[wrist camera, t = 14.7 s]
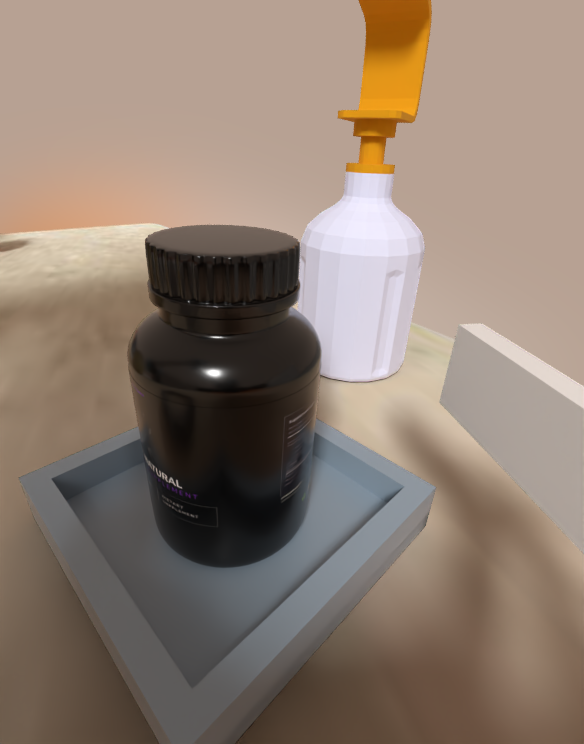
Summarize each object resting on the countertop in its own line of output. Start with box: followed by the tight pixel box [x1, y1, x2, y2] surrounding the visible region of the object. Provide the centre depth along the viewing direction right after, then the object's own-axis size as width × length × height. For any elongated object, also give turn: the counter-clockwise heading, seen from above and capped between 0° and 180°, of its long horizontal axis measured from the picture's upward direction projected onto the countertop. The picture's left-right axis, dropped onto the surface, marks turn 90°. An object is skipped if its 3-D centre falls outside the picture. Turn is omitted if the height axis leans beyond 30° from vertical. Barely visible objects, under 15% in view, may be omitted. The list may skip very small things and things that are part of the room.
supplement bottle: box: [127, 225, 322, 568], centre depth 16 cm, size 7×7×12 cm
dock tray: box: [19, 418, 436, 744], centre depth 18 cm, size 13×13×2 cm
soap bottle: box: [298, 0, 432, 382], centre depth 29 cm, size 9×9×25 cm
